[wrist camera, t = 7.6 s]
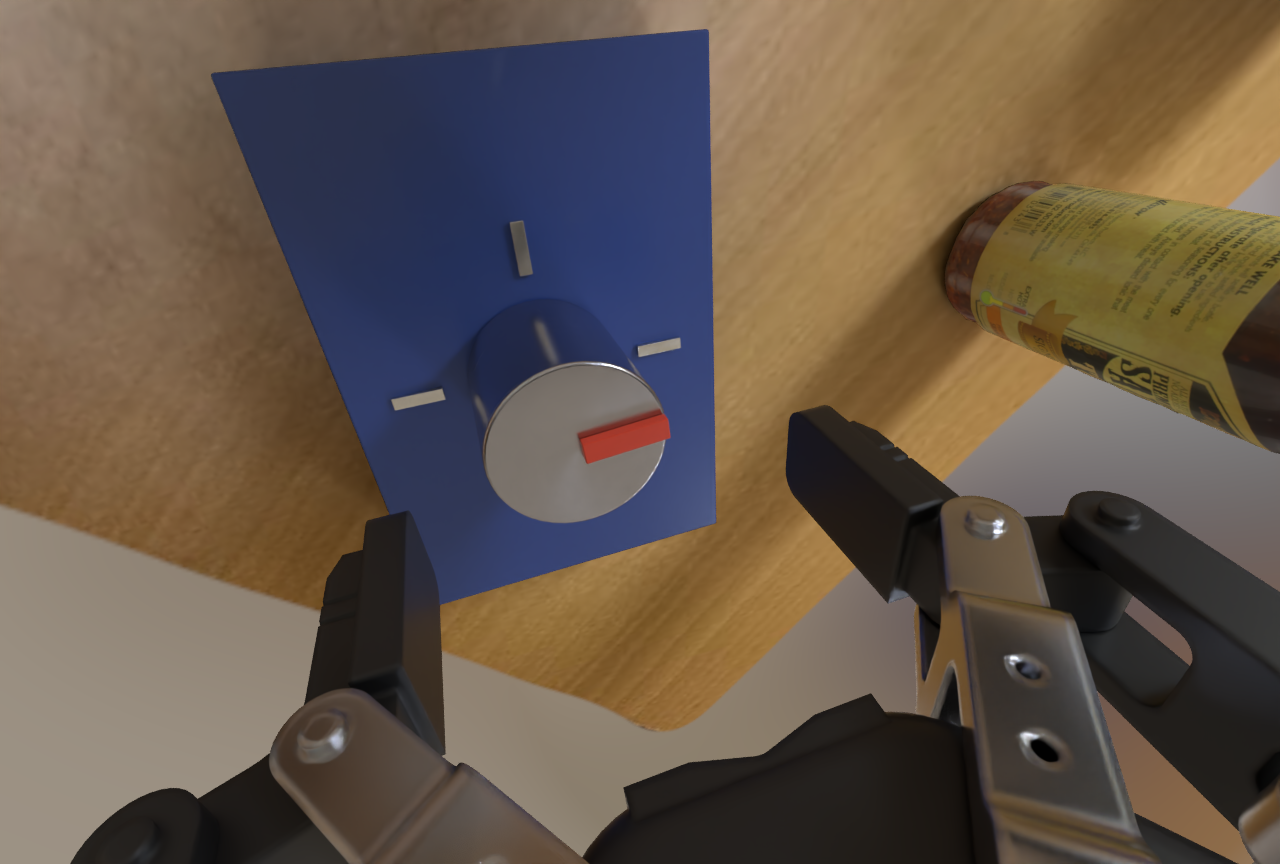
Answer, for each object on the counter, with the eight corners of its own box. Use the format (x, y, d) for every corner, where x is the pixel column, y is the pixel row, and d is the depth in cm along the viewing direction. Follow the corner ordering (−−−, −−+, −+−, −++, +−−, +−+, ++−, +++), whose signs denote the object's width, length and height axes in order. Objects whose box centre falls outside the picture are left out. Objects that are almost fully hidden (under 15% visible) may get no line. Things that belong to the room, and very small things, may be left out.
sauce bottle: (914, 314, 26) (1726, 697, 10) (976, 163, 23) (2249, 356, 7) (1016, 325, 29) (1803, 647, 12) (1083, 189, 26) (2219, 377, 10)
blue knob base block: (252, 74, 15) (207, 73, 12) (654, 38, 18) (712, 27, 14) (425, 536, 24) (427, 612, 20) (678, 468, 26) (718, 526, 23)
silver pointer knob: (491, 452, 18) (513, 555, 14) (445, 320, 16) (456, 401, 12) (625, 412, 19) (681, 498, 15) (601, 281, 17) (659, 343, 13)
